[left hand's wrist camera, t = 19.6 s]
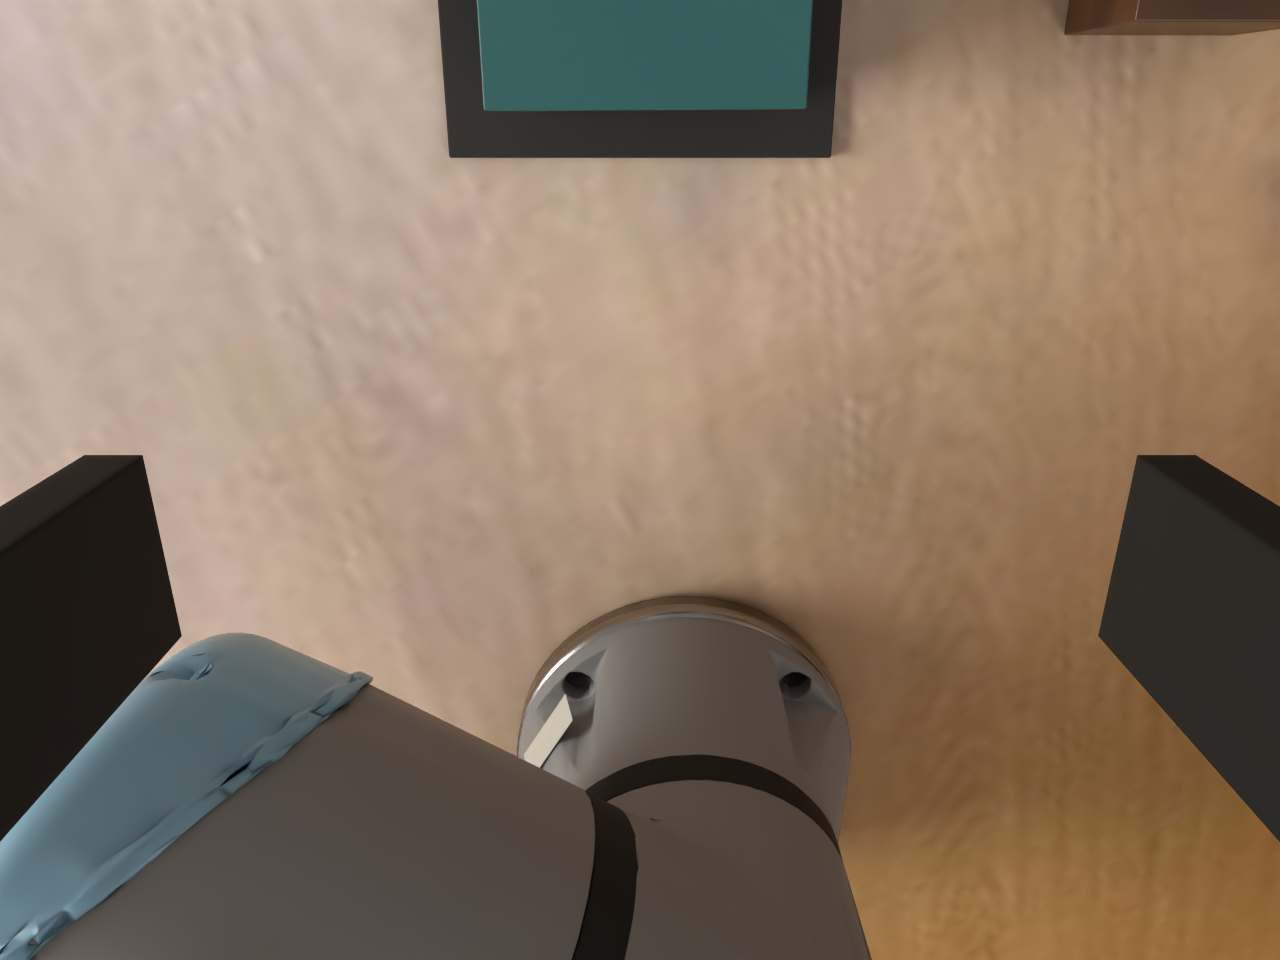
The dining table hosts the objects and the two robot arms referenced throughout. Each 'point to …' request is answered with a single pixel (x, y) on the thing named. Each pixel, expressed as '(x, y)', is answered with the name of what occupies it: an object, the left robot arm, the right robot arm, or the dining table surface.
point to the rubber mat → (633, 111)
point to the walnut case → (1171, 17)
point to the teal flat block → (644, 54)
